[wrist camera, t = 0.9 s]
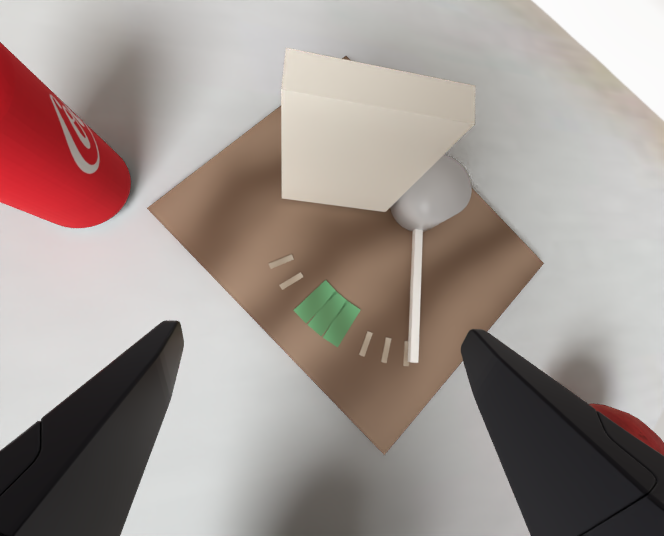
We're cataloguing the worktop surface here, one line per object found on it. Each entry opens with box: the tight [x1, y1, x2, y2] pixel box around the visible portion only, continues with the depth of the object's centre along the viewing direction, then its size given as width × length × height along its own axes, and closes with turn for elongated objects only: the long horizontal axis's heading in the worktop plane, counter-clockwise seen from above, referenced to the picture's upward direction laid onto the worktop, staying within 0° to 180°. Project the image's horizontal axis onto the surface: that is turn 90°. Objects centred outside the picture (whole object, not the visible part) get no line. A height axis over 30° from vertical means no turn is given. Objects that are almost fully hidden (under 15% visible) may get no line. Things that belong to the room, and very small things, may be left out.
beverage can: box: [0, 42, 131, 228], centre depth 16 cm, size 6×6×12 cm
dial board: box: [147, 56, 544, 455], centre depth 24 cm, size 24×20×1 cm
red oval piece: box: [589, 404, 664, 455], centre depth 21 cm, size 6×6×8 cm
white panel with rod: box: [281, 48, 475, 363], centre depth 18 cm, size 13×14×12 cm
